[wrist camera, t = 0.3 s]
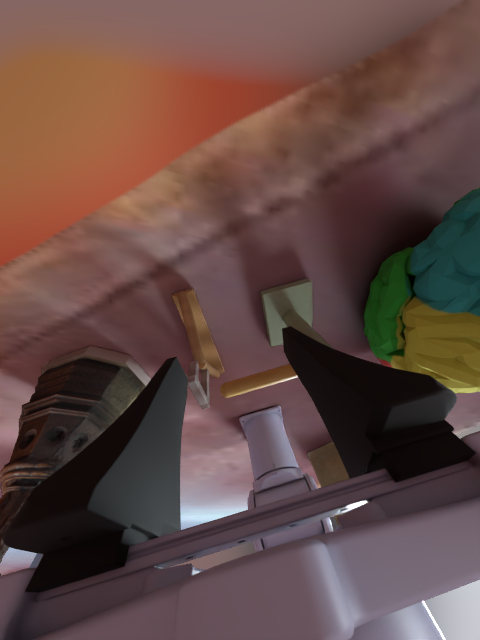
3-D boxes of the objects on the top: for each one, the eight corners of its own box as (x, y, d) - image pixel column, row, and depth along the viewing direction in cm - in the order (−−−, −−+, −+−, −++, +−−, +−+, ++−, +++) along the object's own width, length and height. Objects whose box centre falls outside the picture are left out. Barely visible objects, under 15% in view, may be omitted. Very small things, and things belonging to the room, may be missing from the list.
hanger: (224, 369, 26) (231, 432, 18) (209, 374, 26) (209, 438, 18) (192, 285, 19) (181, 327, 11) (171, 291, 19) (145, 337, 11)
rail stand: (308, 331, 25) (376, 403, 15) (224, 355, 24) (235, 445, 14) (307, 277, 21) (399, 327, 11) (206, 305, 20) (204, 383, 10)
